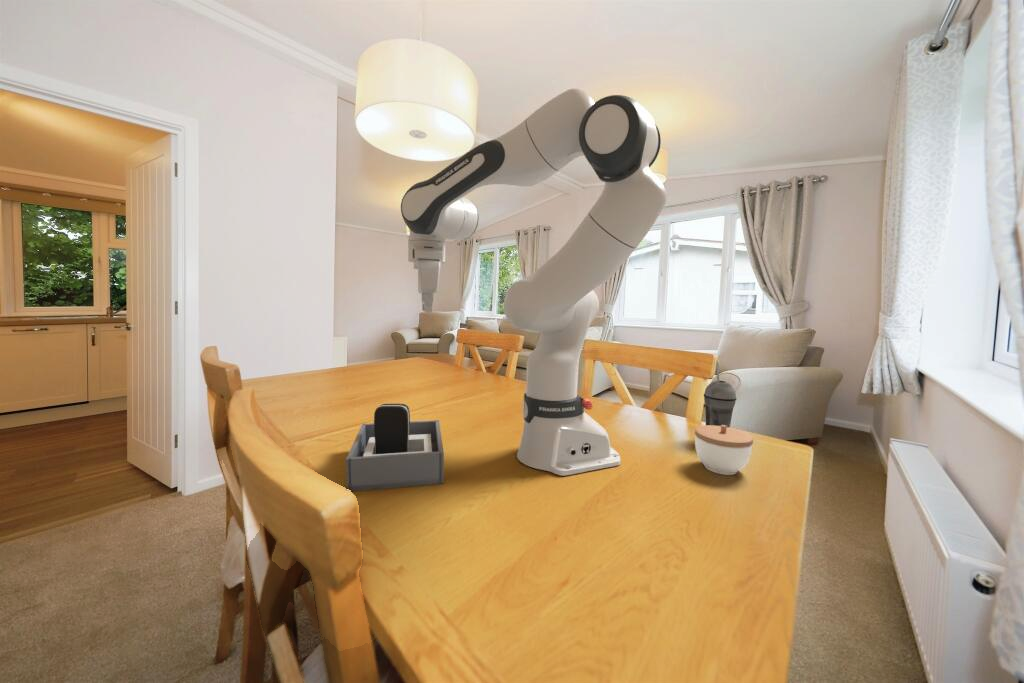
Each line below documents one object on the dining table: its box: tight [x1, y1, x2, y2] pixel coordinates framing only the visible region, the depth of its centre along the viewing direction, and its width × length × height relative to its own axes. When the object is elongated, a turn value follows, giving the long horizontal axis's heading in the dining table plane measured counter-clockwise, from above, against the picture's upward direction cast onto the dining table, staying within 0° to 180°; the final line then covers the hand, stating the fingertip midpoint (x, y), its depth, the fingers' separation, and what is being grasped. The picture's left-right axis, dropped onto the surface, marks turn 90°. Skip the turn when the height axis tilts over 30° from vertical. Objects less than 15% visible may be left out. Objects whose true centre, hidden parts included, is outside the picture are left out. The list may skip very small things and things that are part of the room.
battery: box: [373, 403, 411, 454], centre depth 82 cm, size 7×4×11 cm, turn 94°
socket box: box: [345, 419, 445, 492], centre depth 81 cm, size 17×20×6 cm
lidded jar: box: [694, 424, 754, 476], centre depth 82 cm, size 11×11×9 cm
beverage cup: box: [703, 362, 738, 428], centre depth 97 cm, size 7×7×20 cm
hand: (427, 312), depth 96 cm, fingers open, 8 cm apart
